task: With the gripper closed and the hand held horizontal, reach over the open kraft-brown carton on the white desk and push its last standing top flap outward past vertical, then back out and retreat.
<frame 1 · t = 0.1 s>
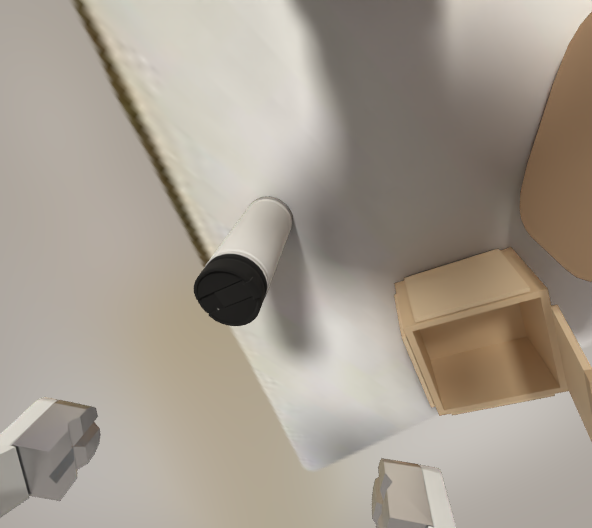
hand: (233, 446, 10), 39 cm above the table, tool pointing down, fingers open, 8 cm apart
travel mug: (271, 217, 49), on the table
carton: (464, 310, 52), on the table
alarm clock: (581, 125, 40), on the table
flap: (580, 385, 36), point 16 cm above the table, hinge at -8.0°
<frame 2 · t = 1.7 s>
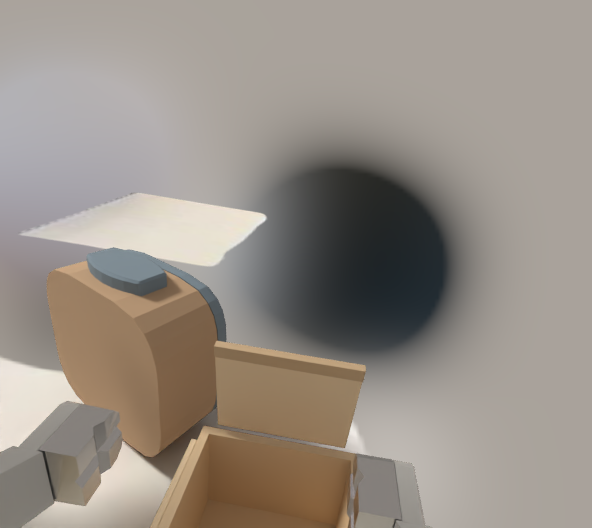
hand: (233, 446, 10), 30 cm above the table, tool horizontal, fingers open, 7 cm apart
alarm clock: (143, 411, 49), on the table
flap: (284, 397, 32), point 16 cm above the table, hinge at -8.0°
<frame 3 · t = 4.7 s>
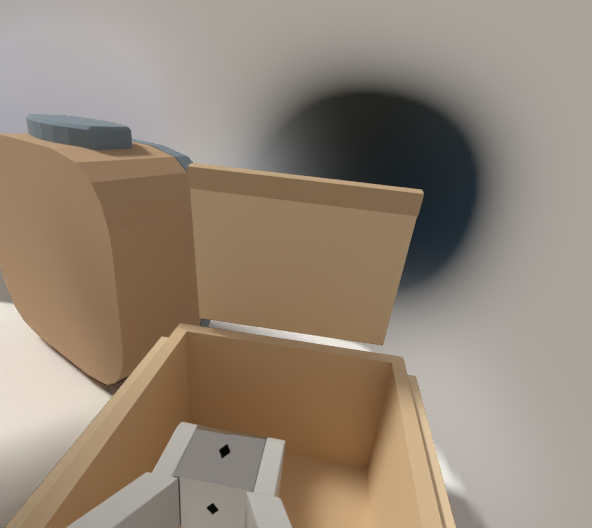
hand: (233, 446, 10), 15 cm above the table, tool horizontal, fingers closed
alarm clock: (111, 343, 39), on the table
flap: (295, 262, 22), point 16 cm above the table, hinge at -8.0°
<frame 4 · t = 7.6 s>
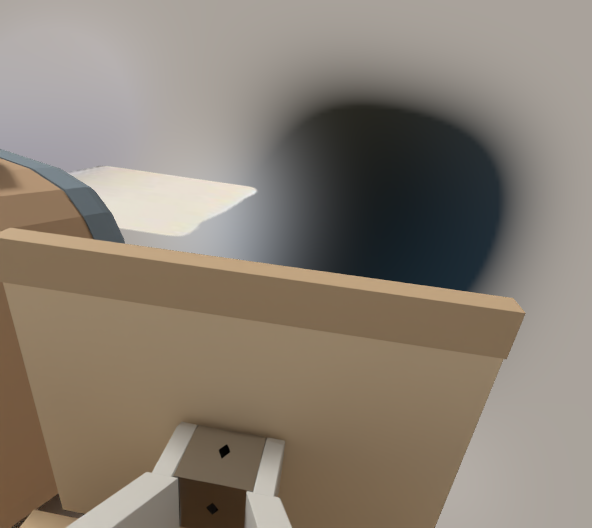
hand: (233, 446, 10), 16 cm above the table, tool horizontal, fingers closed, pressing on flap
alarm clock: (8, 445, 27), on the table
flap: (238, 426, 11), point 16 cm above the table, hinge at -1.5°, touching gripper
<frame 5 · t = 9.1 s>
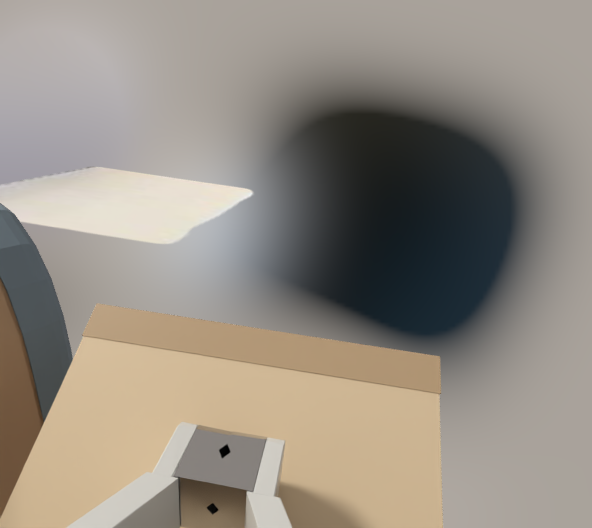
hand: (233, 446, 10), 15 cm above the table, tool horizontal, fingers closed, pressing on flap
flap: (227, 498, 11), point 14 cm above the table, hinge at 52.3°, touching gripper
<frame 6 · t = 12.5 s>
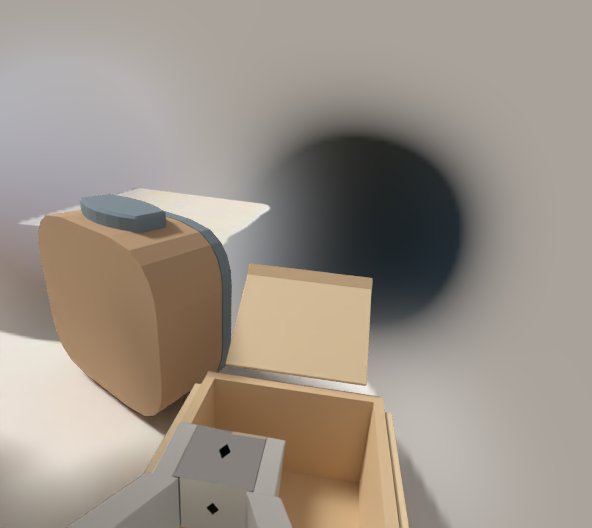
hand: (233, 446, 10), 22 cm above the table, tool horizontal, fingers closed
alarm clock: (144, 377, 46), on the table
flap: (303, 319, 34), point 14 cm above the table, hinge at 52.8°
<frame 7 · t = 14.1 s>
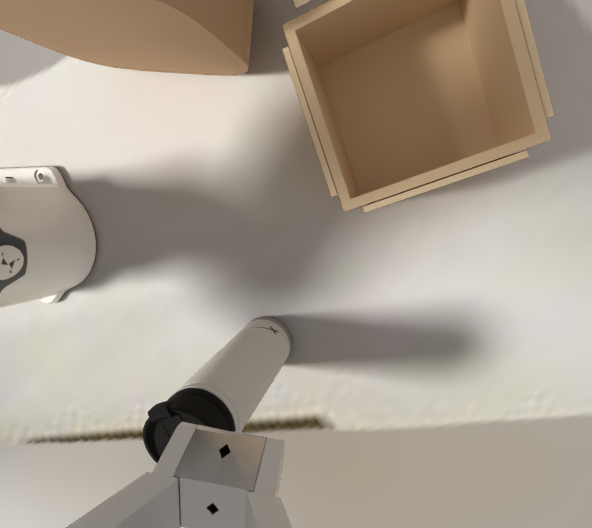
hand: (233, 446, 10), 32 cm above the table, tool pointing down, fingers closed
travel mug: (267, 338, 45), on the table
carton: (405, 107, 36), on the table
alarm clock: (184, 29, 41), on the table
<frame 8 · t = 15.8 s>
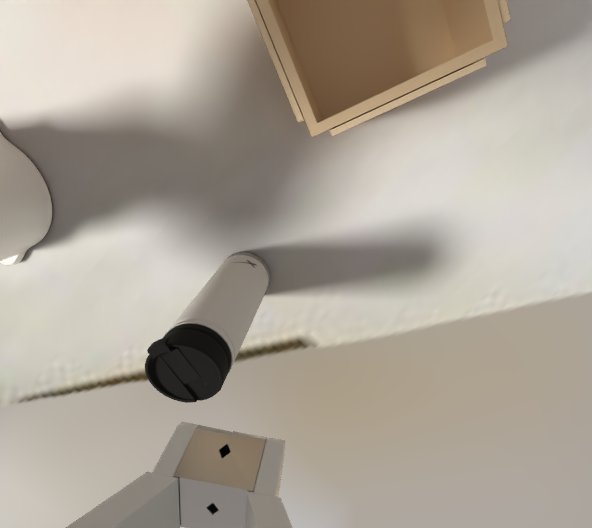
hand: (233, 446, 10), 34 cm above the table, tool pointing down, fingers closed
travel mug: (245, 273, 47), on the table
carton: (362, 19, 35), on the table
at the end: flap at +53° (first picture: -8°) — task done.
